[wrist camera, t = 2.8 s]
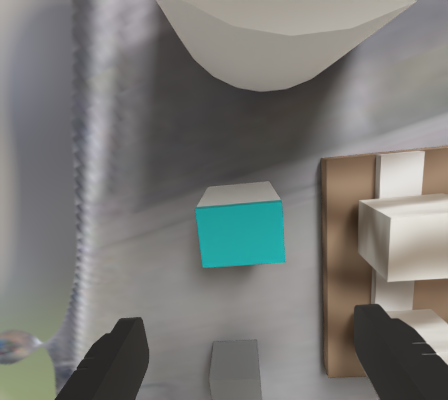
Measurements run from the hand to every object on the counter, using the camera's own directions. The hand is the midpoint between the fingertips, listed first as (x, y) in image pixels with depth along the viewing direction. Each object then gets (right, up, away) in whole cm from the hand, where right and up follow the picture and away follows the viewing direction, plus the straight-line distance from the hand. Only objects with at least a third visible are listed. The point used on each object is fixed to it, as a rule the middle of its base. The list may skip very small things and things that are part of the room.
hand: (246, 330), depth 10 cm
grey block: (+1, -13, +21) cm, 25 cm away
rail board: (+16, -2, +17) cm, 23 cm away
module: (+1, +4, +16) cm, 17 cm away
